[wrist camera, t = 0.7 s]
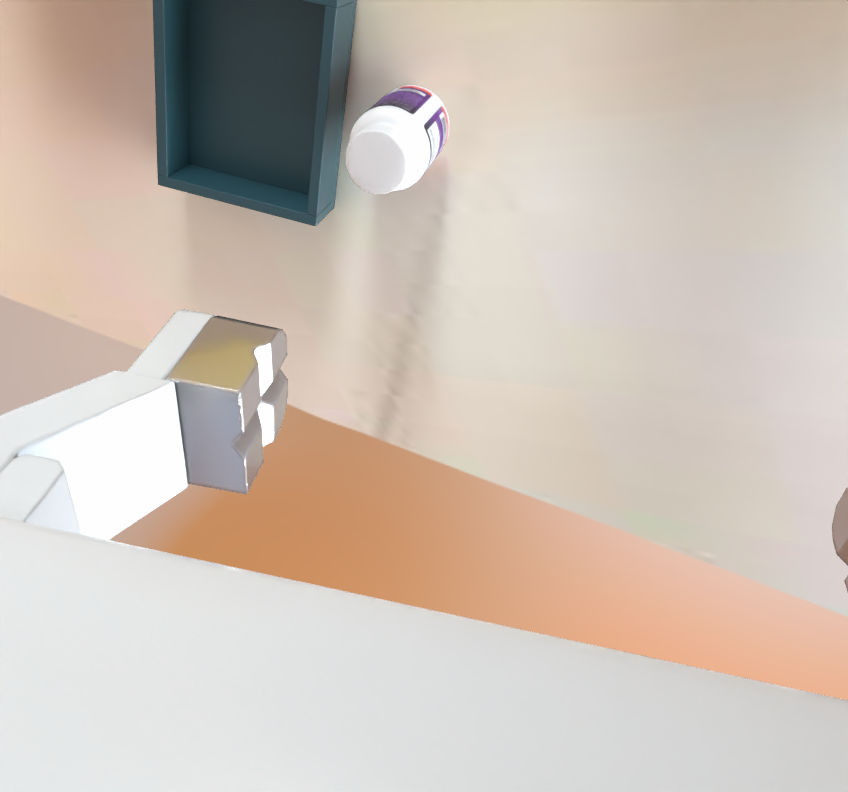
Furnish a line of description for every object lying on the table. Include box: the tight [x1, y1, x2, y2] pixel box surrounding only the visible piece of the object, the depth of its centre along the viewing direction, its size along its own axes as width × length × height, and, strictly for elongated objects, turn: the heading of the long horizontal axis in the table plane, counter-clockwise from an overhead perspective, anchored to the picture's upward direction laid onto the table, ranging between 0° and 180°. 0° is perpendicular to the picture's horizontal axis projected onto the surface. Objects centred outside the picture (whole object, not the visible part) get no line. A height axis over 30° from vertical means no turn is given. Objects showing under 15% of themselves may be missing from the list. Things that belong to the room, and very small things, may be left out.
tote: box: [153, 0, 356, 226], centre depth 55 cm, size 16×13×4 cm
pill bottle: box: [345, 85, 450, 194], centre depth 52 cm, size 5×5×10 cm
